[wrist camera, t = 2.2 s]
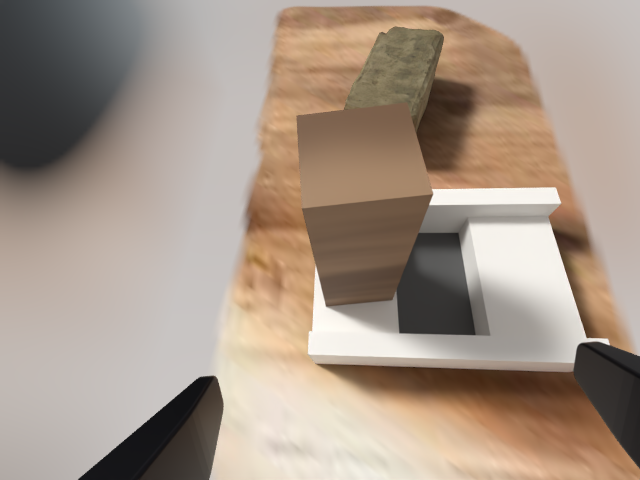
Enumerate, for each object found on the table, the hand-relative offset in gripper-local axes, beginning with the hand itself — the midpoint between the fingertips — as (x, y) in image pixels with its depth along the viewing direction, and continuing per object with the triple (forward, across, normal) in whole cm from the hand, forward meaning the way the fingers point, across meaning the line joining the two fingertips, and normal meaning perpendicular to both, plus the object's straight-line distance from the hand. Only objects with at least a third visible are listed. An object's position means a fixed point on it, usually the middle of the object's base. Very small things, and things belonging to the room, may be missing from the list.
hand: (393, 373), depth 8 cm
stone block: (+26, -5, -7) cm, 27 cm away
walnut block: (+12, 0, +3) cm, 12 cm away
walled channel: (+14, -5, +5) cm, 15 cm away
